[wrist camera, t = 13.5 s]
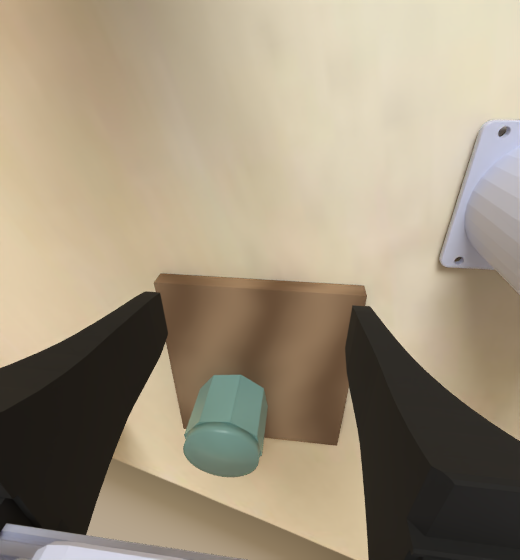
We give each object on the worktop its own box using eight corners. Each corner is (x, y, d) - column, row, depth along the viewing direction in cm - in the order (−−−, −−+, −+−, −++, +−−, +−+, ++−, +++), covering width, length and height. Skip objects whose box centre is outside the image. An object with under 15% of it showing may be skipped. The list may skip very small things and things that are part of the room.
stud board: (364, 285, 22) (374, 326, 18) (336, 433, 30) (339, 480, 27) (160, 273, 23) (134, 309, 20) (187, 417, 32) (172, 460, 28)
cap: (195, 375, 27) (173, 431, 23) (260, 374, 26) (251, 432, 22) (210, 418, 29) (194, 475, 25) (270, 418, 28) (264, 478, 24)
